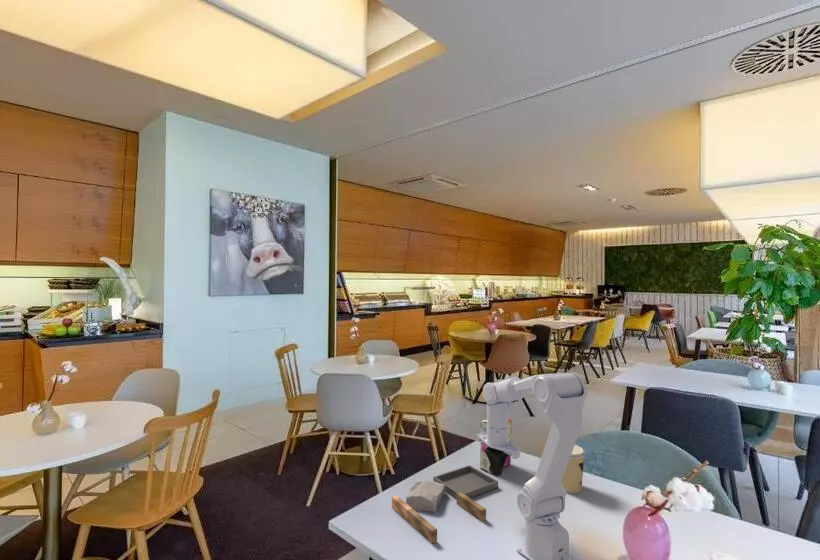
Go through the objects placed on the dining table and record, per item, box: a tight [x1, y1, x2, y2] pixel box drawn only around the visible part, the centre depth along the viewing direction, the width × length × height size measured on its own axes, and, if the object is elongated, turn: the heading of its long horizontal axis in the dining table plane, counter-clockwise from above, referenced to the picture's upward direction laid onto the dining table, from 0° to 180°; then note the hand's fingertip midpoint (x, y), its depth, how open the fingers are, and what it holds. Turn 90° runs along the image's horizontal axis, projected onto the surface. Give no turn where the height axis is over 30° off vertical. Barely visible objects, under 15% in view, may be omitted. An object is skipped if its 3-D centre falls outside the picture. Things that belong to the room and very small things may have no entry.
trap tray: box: [432, 464, 499, 500], centre depth 129 cm, size 13×15×2 cm
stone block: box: [405, 479, 446, 513], centre depth 120 cm, size 12×5×10 cm
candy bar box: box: [479, 416, 513, 474], centre depth 142 cm, size 11×5×16 cm, turn 130°
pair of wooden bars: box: [391, 492, 487, 544], centre depth 113 cm, size 19×18×3 cm
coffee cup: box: [561, 444, 585, 494], centre depth 128 cm, size 9×9×12 cm
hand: (497, 475), depth 114 cm, fingers closed
